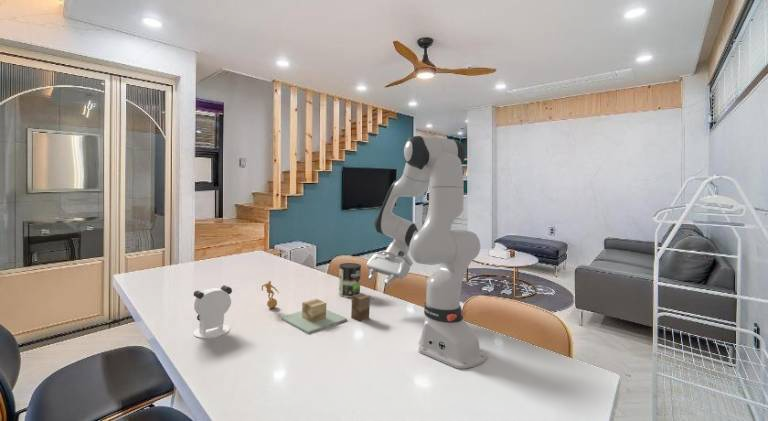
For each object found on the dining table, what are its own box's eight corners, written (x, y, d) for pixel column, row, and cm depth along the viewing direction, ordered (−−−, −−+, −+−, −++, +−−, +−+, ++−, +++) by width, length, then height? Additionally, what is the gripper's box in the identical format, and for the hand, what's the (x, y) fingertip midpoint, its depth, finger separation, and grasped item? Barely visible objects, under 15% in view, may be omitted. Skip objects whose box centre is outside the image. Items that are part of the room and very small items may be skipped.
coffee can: (364, 294, 170) (365, 265, 169) (349, 299, 161) (350, 269, 160) (348, 289, 176) (349, 261, 175) (334, 294, 168) (334, 265, 166)
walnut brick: (369, 318, 139) (369, 296, 139) (359, 321, 136) (360, 299, 135) (360, 315, 143) (361, 293, 142) (351, 318, 139) (351, 295, 138)
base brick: (326, 318, 136) (326, 302, 136) (312, 322, 131) (312, 306, 131) (316, 313, 140) (316, 298, 140) (302, 317, 136) (302, 302, 135)
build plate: (347, 320, 136) (347, 318, 136) (308, 333, 123) (308, 331, 123) (319, 308, 149) (319, 306, 148) (280, 319, 135) (280, 316, 135)
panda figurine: (222, 321, 131) (222, 282, 130) (237, 330, 124) (237, 288, 123) (187, 331, 122) (187, 289, 120) (202, 341, 114) (202, 296, 113)
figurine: (283, 307, 147) (283, 279, 146) (274, 312, 142) (274, 283, 141) (266, 304, 150) (267, 277, 149) (257, 309, 144) (257, 280, 143)
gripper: (374, 247, 157) (357, 272, 150) (409, 254, 143) (392, 282, 136) (380, 255, 160) (364, 280, 154) (416, 264, 146) (399, 291, 140)
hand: (377, 281), depth 145 cm, fingers open, 8 cm apart
